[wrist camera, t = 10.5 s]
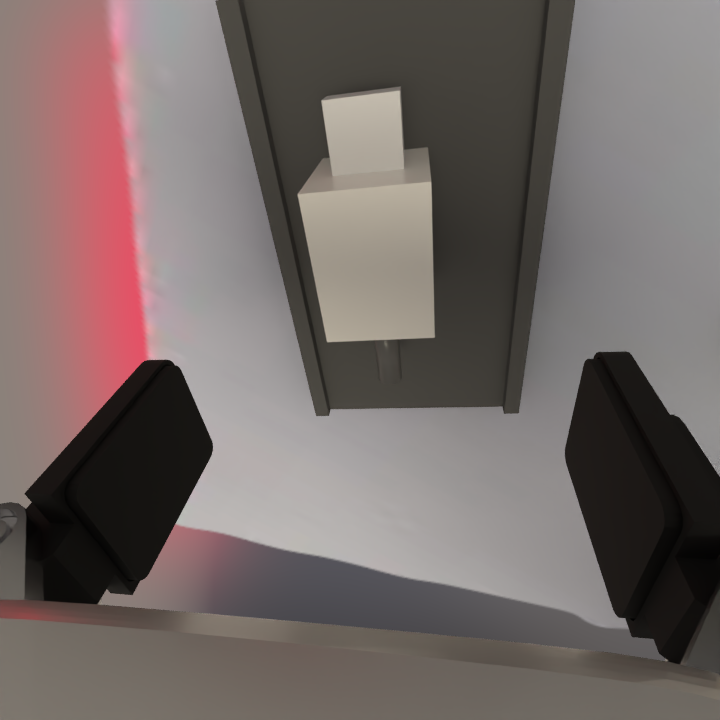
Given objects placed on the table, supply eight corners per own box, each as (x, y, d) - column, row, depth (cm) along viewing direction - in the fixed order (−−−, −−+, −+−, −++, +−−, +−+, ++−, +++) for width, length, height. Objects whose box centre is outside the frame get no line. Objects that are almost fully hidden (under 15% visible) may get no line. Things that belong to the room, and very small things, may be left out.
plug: (432, 346, 24) (436, 410, 20) (353, 349, 24) (341, 412, 20) (426, 77, 16) (429, 94, 12) (312, 92, 17) (281, 112, 13)
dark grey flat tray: (514, 397, 26) (518, 413, 25) (320, 400, 28) (316, 415, 27) (570, -54, 15) (583, -60, 13) (229, 2, 16) (215, 0, 15)
